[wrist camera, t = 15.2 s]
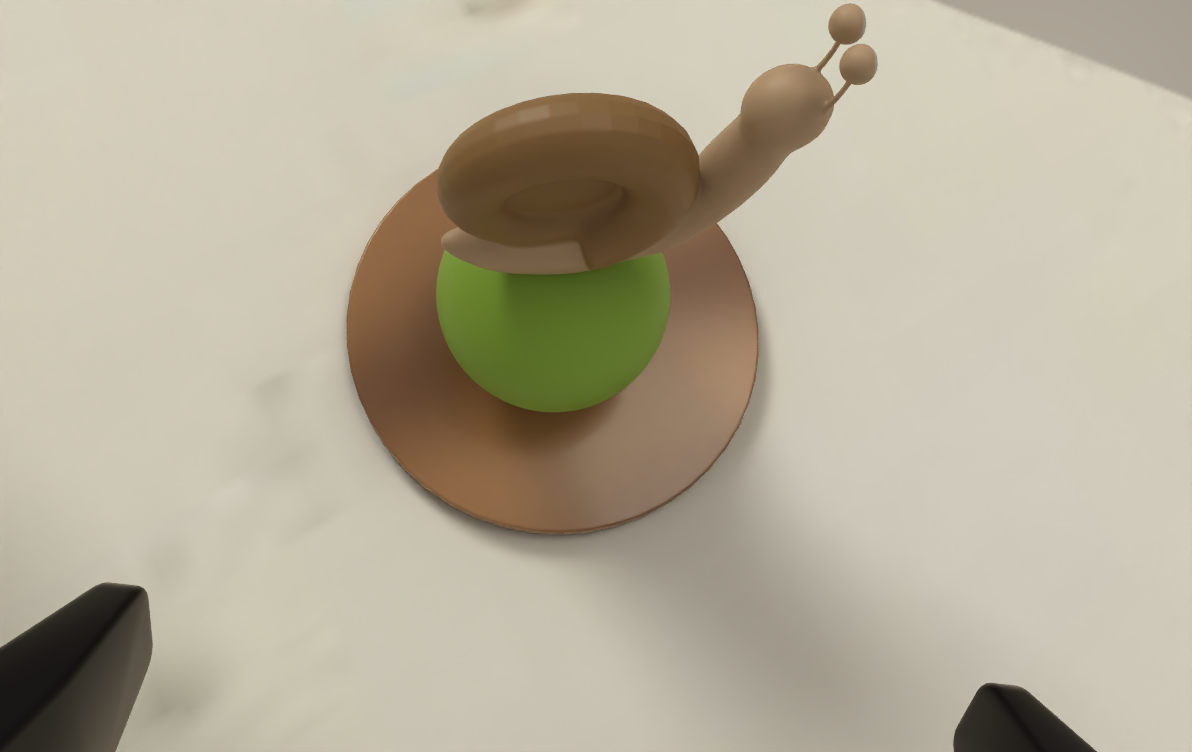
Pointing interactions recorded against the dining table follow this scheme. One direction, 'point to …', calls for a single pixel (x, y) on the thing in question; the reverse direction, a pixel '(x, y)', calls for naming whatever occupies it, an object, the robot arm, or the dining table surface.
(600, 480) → the plate
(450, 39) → the dining table surface
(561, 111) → the snail figurine
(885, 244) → the dining table surface
